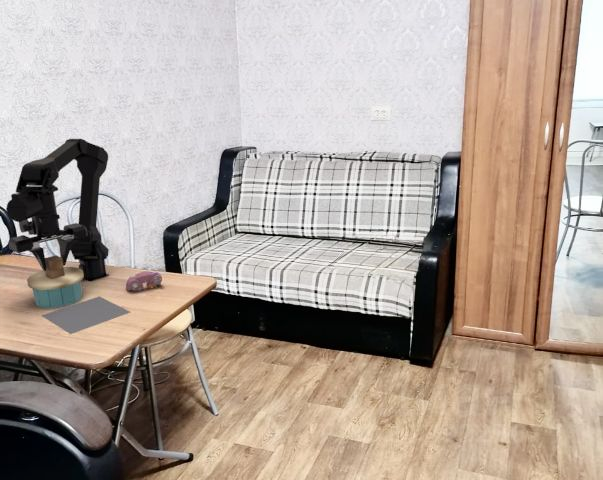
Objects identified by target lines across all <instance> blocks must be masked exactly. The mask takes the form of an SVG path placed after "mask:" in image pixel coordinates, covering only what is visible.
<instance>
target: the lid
mask: <svg viewBox="0 0 603 480" xmlns="http://www.w3.org/2000/svg"><path fill="white" fill-rule="evenodd" d="M45 262H46V271H44V270H43V269H42V270H40V271H37V272H35V273H33V274H31V275H30V276H29V277H28V278H27V280H26V282H27V286H28V288H30V289H32V290H33V289H36V290H52V289H59V288H63V287H67V286H70V285H73V284H76V283H78V282H79V281H82V280H83V277H84V274H83V270H82V269H80V268H79V267H77V266H76V267H75V266H63V261H62V258H61V257H60V256H59V255H55V254H54V255H51V256H48V257H45Z"/></svg>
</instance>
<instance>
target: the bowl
mask: <svg viewBox="0 0 603 480" xmlns="http://www.w3.org/2000/svg"><path fill="white" fill-rule="evenodd" d="M81 281H82V280H81ZM81 281H79V282H78V283H76V284H73V285H70V286H67V287H63V288H59V289H52V290H36V289H32V293H33V299H34V303H35V305H36V306H37V307H39V308H44V309H55V308H62V307H63V308H64V307H68V306H71V305H74V304H76V303H77V302H78V301H81V299H82V298H83V289H82V282H81Z"/></svg>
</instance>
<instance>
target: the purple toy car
mask: <svg viewBox="0 0 603 480" xmlns="http://www.w3.org/2000/svg"><path fill="white" fill-rule="evenodd" d="M126 280H127V281H126V283H125V288H126V289H125V290H126V291H128V292H130V291H132V290H135V291H136V292H139V291H143V290H144V288H145V287H144V284H145V285H146V288H147V290H149V289H153V288H154V289H155V287H156V286H160V285H161V284H162V281H163V278H162V275H161V274H160V273H159V272H158V271H157V270H154V271H140V272H138V273H137V274H131V276H129V277H128V279H126Z"/></svg>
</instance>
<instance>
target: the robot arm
mask: <svg viewBox="0 0 603 480" xmlns="http://www.w3.org/2000/svg"><path fill="white" fill-rule="evenodd" d="M72 161H76V167H77V169H78V171H79V173H80V174H81V186H80V200H79V210H78V211H79V213H78V223H77V222H75V223H70V224H67V225H64V226H63V228H62V229H60V223H59V219H61V217H60V214H58V211H57V205H56V199H55V192H57V191H59V188H58V186H56V185H54V183H55V182H56V181H57V180H58V178H59V176H60V174H59V173H60V171H61V170H62V169H64V168H65V167H66V166H67V165H69V164H70V163H71V162H72ZM108 162H109V153H108V151H106V150H105V148H104V147H102V146H99V145H96V144H93V143H91V142H89V141H87V140H85V139H83V138H68V139H66V140H65V142H63V144H62V145H60V146H59V147H57V148H55V150H53V151H52V152H50V153H49V154H48V155H47V156H45V157H44V158H40V159H36V160H31V161H29V162H27V163H24V165H23V166H22V167H21V171H20V174H19V178H18V182H17V185H16V189H15V193H12V194H11V195H10V196H11V199H10V200H9V201H8V202H7V203H6V214H7V215H8V217H9V218H10V219H11V220H13V222H17V223H18V226H19V230H20V232H21V233H27V232H28V236H27V235H25V234H24V235H23V234H22V235H19V236H14V237H10V238H9V240H8V248H9V250H11V251H14V252H15V253H24V252H30V253H31V254H32V255H33V256H34V257H35V258H34V259H36V262H38V264H39V266H40V267H41V270H42V271H43V270H44V271H46V262H45V258H46V257H45V250H44V248H43V247H42V246H40V244H41V243H45V242H50V241H53V240H56V241H57V243H58V245H59V246H58V247H59V255H60V256H59V257H61V258H62V261H63V267H65V266H66V263H67V260H68V257H69V254H70V252H71V254H72V257H73V259H74V260H75V261H76V260H79V264H78V268H80V269H82V270H83V274H84V277H83V279H82V280H83V281H85V282H89V283H90V282H94V281H96V280H99V279H103V278H106V277H109V276H110V274H108V273H107V271H106V270H107V269H106V262H105V260H107V259H108V257H109V251H110V250H109V248H108V247H107V246H106V245H105V244H104V243H103V242H102V235H101V232H100V231H99V228H98V227H97V221H98V209H99V193H100V179H101V178H102V176H103V174H104V173H105V172H106V171H107V166H108ZM29 219H31V221H29ZM31 235H34V236H32V237H29V236H31Z"/></svg>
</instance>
